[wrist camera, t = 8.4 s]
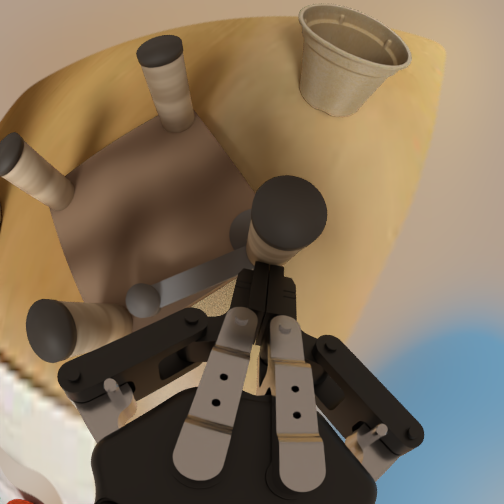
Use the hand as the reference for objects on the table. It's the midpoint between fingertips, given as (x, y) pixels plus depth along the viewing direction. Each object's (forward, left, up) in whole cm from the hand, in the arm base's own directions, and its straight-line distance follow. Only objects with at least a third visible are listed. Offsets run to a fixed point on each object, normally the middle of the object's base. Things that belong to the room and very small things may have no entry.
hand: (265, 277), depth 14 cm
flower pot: (-11, +16, -5) cm, 20 cm away
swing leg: (-2, -2, -2) cm, 4 cm away
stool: (-8, -4, -5) cm, 10 cm away
